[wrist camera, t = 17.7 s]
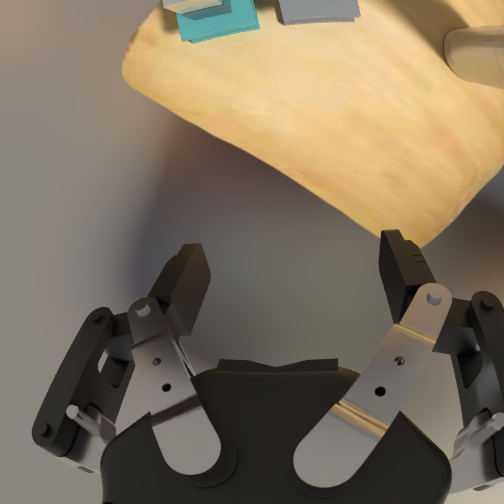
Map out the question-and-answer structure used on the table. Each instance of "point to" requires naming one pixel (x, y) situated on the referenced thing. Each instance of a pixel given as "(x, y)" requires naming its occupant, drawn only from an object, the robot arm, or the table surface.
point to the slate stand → (318, 11)
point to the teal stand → (220, 23)
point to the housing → (198, 8)
